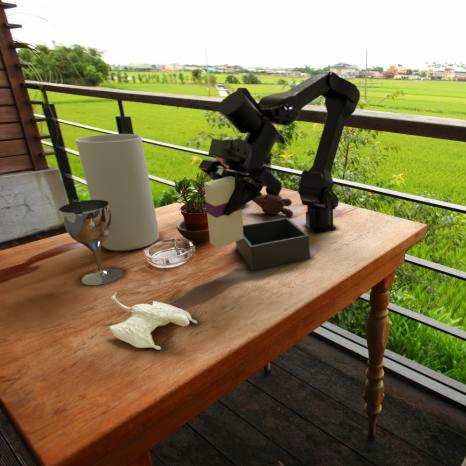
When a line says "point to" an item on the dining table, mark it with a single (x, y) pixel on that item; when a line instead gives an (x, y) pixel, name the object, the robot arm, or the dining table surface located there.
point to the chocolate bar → (222, 213)
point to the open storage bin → (273, 243)
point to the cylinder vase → (121, 187)
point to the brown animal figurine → (273, 204)
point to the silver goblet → (90, 233)
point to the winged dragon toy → (147, 322)
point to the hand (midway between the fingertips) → (219, 213)
